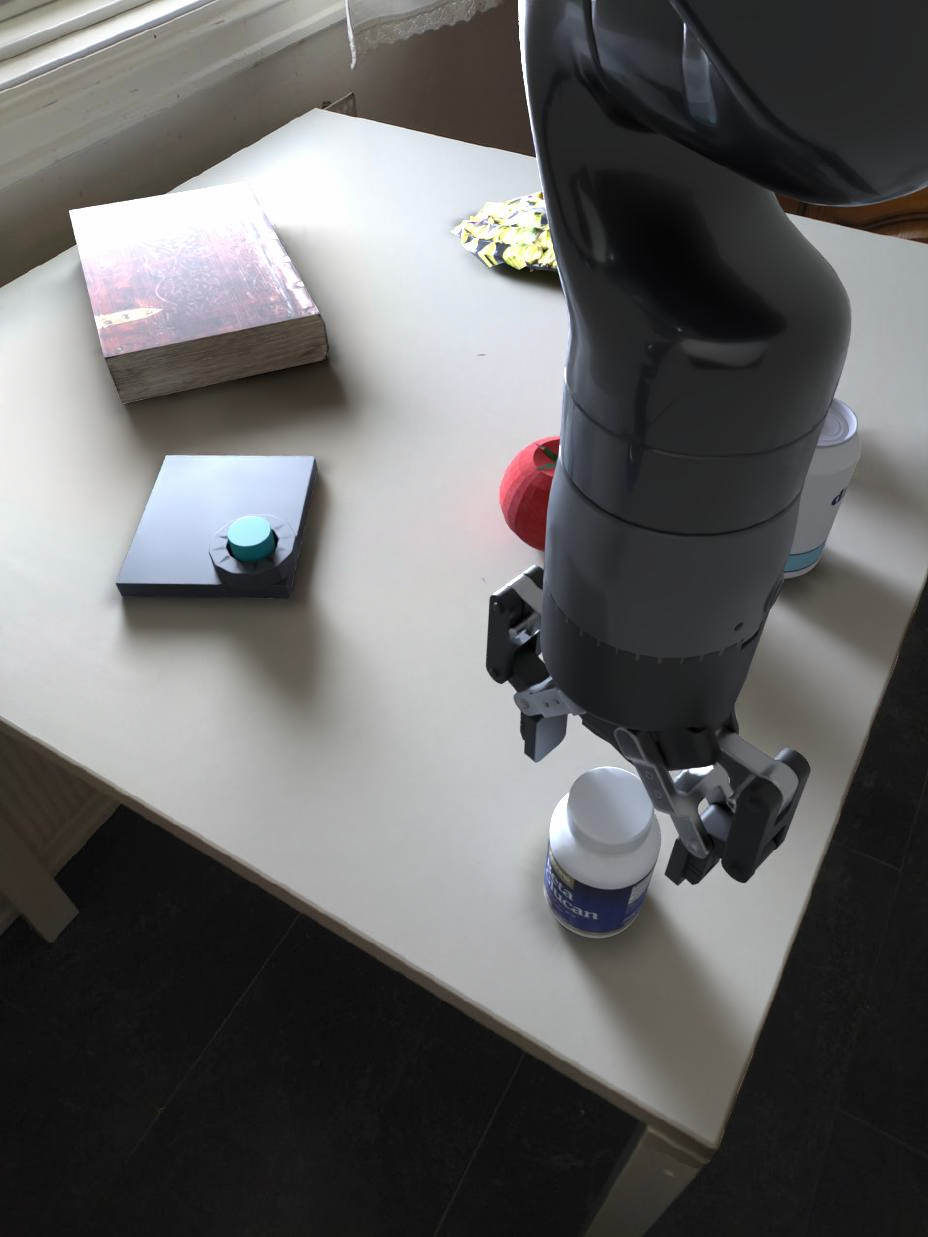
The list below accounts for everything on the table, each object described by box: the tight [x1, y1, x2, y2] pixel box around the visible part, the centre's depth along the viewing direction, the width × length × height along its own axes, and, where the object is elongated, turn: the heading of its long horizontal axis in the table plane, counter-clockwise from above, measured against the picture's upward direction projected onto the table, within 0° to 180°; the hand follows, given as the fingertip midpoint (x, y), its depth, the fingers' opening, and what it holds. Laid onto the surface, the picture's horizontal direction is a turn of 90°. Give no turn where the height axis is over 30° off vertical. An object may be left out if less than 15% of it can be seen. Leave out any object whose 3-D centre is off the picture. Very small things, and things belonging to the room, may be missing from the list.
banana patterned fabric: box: [450, 191, 559, 273], centre depth 94 cm, size 20×16×6 cm
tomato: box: [498, 435, 560, 553], centre depth 64 cm, size 9×9×8 cm
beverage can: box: [783, 397, 862, 580], centre depth 61 cm, size 7×7×12 cm
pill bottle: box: [543, 766, 662, 939], centre depth 45 cm, size 5×5×10 cm
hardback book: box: [68, 180, 330, 405], centre depth 87 cm, size 29×19×5 cm, turn 22°
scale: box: [115, 454, 319, 600], centre depth 67 cm, size 14×12×3 cm
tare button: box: [227, 517, 275, 562], centre depth 62 cm, size 3×3×2 cm
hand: (611, 805), depth 42 cm, fingers open, 8 cm apart
